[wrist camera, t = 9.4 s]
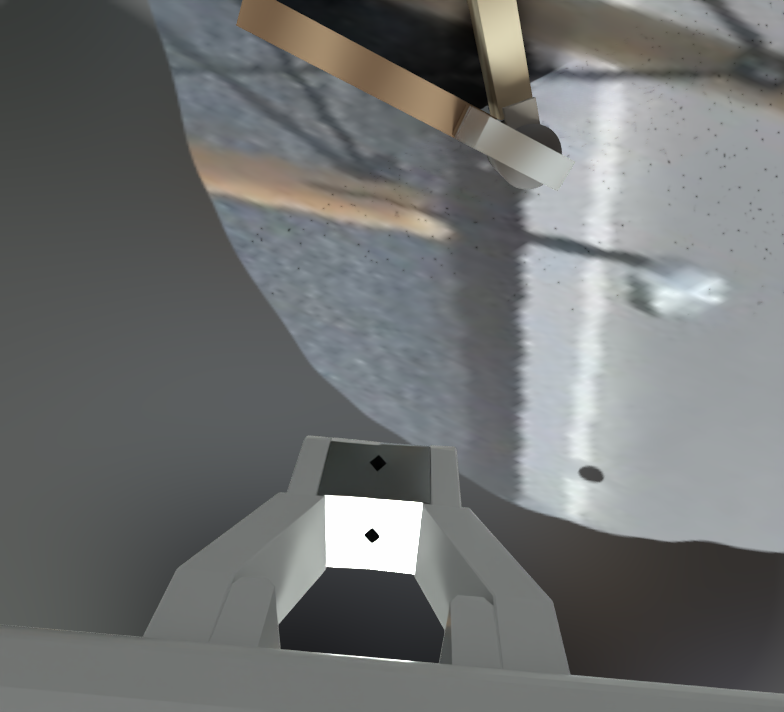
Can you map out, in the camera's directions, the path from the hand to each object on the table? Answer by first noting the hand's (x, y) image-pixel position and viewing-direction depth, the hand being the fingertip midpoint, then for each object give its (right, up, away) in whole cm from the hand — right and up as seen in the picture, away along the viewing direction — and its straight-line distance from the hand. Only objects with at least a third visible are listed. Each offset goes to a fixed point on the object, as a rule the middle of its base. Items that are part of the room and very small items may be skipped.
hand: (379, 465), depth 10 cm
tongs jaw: (+1, +19, +23) cm, 30 cm away
